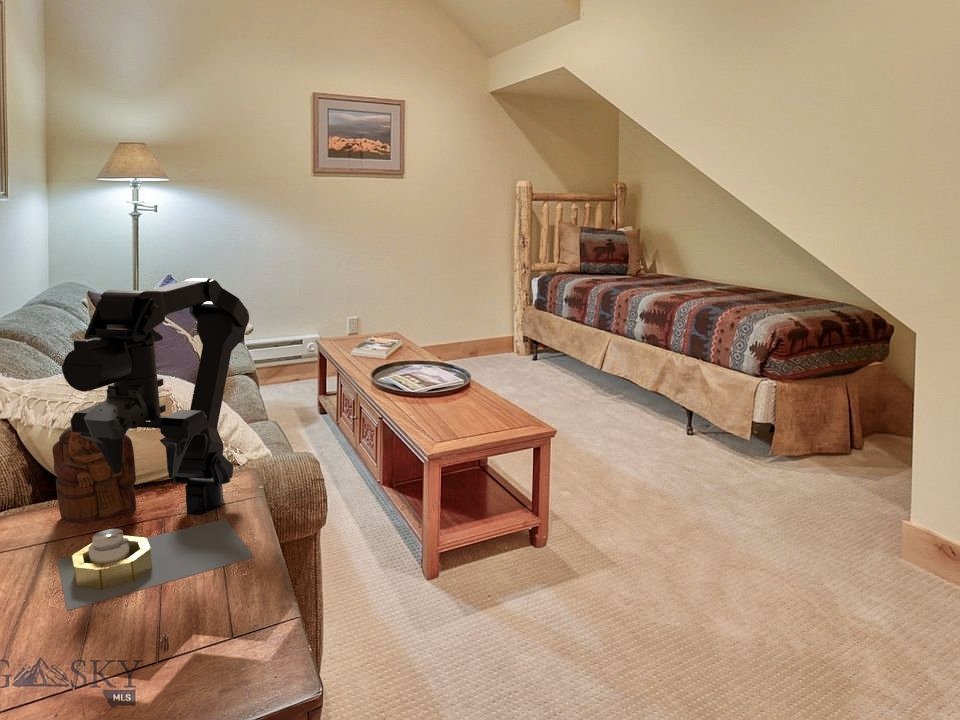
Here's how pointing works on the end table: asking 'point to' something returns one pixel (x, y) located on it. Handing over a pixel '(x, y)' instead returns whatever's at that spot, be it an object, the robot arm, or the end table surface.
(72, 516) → the wooden figurine
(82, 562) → the brass ring
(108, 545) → the silver calibration weight
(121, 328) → the robot arm
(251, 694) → the end table surface
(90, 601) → the mat
